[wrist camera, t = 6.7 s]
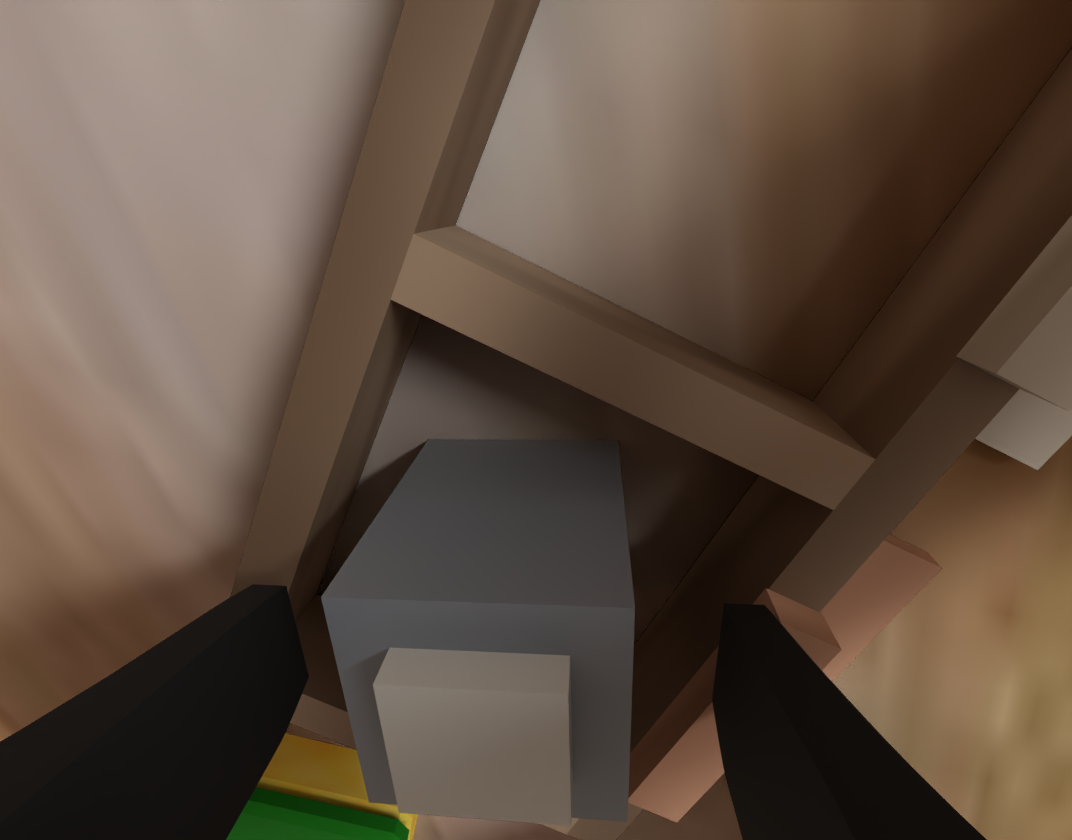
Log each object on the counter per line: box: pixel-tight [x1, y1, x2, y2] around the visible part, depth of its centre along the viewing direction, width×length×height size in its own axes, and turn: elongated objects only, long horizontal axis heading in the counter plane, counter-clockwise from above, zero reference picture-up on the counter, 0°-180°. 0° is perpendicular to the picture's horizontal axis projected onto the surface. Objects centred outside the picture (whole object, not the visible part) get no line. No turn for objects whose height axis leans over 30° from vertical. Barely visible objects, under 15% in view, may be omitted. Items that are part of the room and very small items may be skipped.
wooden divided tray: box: [231, 0, 1072, 840], centre depth 9 cm, size 12×20×3 cm, turn 155°
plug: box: [321, 440, 635, 826], centre depth 10 cm, size 4×4×6 cm
